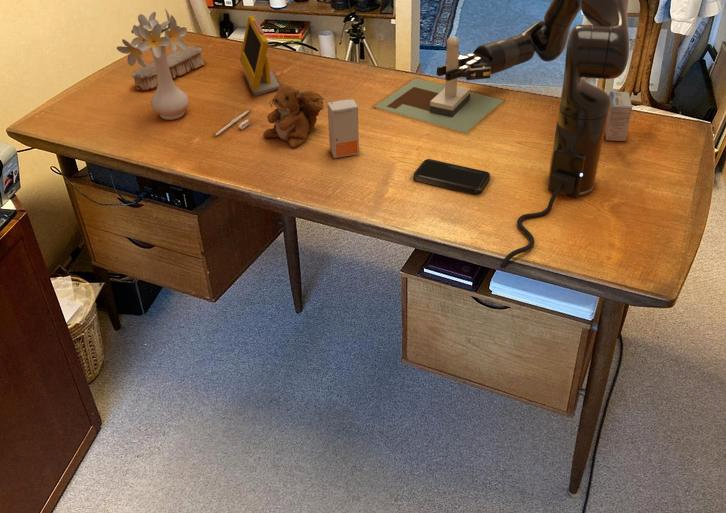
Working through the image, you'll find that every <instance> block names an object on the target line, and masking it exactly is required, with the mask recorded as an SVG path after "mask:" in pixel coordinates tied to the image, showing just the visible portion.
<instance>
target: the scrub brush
mask: <svg viewBox="0 0 726 513" xmlns="http://www.w3.org/2000/svg"><path fill="white" fill-rule="evenodd" d="M459 50H460V39H459V38H458V36H455V35H452V36H449V37H448V38H447V39H446V58H445V64H446V72H447V71H450V70H453V69H456V68H458V53H459V52H460V51H459ZM444 85H445V88H444V89H443V90H442V91H441V92H440V93H439V94H438V95H437V96H436V97H434V98H433V99H432V100H431V101H430V113H435V114H439V115H444V116H448V117H453V116H454V115H455V114H456V113H457V112H458V111H459V110H460V109H461V108H462V107H463V106H464V105H465V104H466V103H467V102H468V101H469V100H470V93H471V92H472V91H471V88H470V87H466V86H461V85H458V78H456V79H453V80H450V81H447V80H445V83H444Z"/></svg>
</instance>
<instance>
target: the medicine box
mask: <svg viewBox="0 0 726 513" xmlns="http://www.w3.org/2000/svg"><path fill="white" fill-rule="evenodd" d="M608 95H609V97H610V107H609V112H608V117H607V122H606V127H605V132H604V136H605V140H606V141H610V142H626V140H627V137H628V130H629V126H630V121H631V116H632V112H633V105H632V100H631V94H630V92H628V91H609V93H608Z"/></svg>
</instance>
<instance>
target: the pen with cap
mask: <svg viewBox="0 0 726 513" xmlns="http://www.w3.org/2000/svg"><path fill="white" fill-rule="evenodd" d="M249 112H250V110H248V109H247V110H245V111H244V112H243V113H241V114H240V115H238V116H237V115H236V116H234V117H232V118H231V120H230V121H229V123H228V124H227V125H225V126H224V127H222V128H221V129H219V130H218V131H216V133H215V135H214V136H215V137H217V136H219V135H221V134H222V133H223V132H224V131H226V130H227V129H229V128H230V127H232V126H233V125H234V124H236V123H237V122H239V124H238V129H239V130H244V129H245V128H246V127H247V126H249V125H250V124H251V120H250V119H247V118H245V120H244V121H243V120H242V118H243V117H245V116H246V115H248V114H249Z"/></svg>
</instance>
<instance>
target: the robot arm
mask: <svg viewBox="0 0 726 513" xmlns="http://www.w3.org/2000/svg"><path fill="white" fill-rule="evenodd" d="M628 8H629V0H551V2H550V3H549V6H548V8H547V9H546V11H545V13H544V15H543V20H537V21H536V22H534V23H533V24H532V25H530V26H529V27H528V28H527V29H525V30H523V31H522V32H521V33H519V34H517V35H514V36H510V37H507V38H500V39H497V40H494V41H490V42H488V43H484V44H481V45H479V46H477V47H476V48H475V49H474V51H473V52H472V53H466V54H464V55H461V54H460V51H459V53H458V68H456V69H453V70H450V71H447V72H446V63H445V64H442V65H439V66H437V67H436V76H438V77H442V76H445V77H444V79H445V80H444V81H446V80H447V81H450V80H453V79H456V78H457V79H464V78H465V80H466V81H476V80H486V79H490V78H491V76H492V75H494V74H496V73H501V72H504V71H506V70H509V69H511V68H513V67H515V66H518V65H521V64H524V63H526V62H529V61H530V60H532V59H533V57H534V56H535V54H536V55H537V57H538V58H540V60H541V61H543V62H547V63H548V62H550V63H551V62H553V61H555V60H557V59H558V58H559V57H560V56H561V55H562V54H563V52H564V50H565V48H566V52H565V62H564V71H563V72H564V73H563V82H562V89H561V94H560V101H559V107H558V112H557V113H558V114H557V120H556V127H555V132H554V139H553V146H552V151H551V159H550V165H549V172H548V176H547V186H548V188H547V190H548V191H549V192H552V194H551V197H550V198H549V200H548V204H547V207H546V208H545V209H543V210H542V211H539V212H532V213H525V214H522V215H520V216H519V217H518V218H517V220H516V225H517V228H518V229H519V230H520V231H521V232H522V233H523V234H524V236H526V237H527V239H528V244H526V245H525V246H522V247H519V248H516V249H514V250H512V251H511V252H509V253H508V254H507V255H506V256H505V257H504V258H503V260H502V261H501V264H500V265H499V268H501V269H504V268H506V266H507V265H508V263H509V262H510V260H511V259H512V258H513V257H515V256H517V255H520V254H523V253H525V252H528V251H530V250H531V249H532V248H533V247H534V245H535V237H534V235H533V234H532V233H531V232H530V231H529V230H528V229H527V228H526V227H525V226H524V224H523V221H524V220H527V219H536V218H542V217H544V216H546V215H548V214H549V213H550V212H551V211H552V209H553V206H554V202H555V200H556V198H557V197H558V195H562V196H566V197H569V198H573V199H578V198H579V197H582V196H586V195H588V194H591V193H592V192H593V191H594V189H595V185H596V176H597V172H598V170H597V169H598V166H599V161H600V156H601V151H602V146H603V141H604V137H605V127H606V122H607V117H608V112H609V107H610V97H609V93H607V92H606V91H605V90H603V89H601V88H600V87H597V86H595V85H593V84H591V83H589V82H588V81H586V80H585V79H586V78H587V79H602V80H611V79H612V80H613V79H618V78H619V77H621V76H622V74H624V72H625V70H626V68H627V65H628V62H629V59H630V58H629V57H630V33H629V32H630V31H629V25H628V24H629V23H628V10H629V9H628ZM580 11H581V13H582V14H583V16H584V18H585V19H586V20H587V21H588V22H589V23H590V24H577V25H575V26H574V27H573V28H572V29H571V26H572V24H573V23H574V21H575V19H576V17H577V16H578V14H579V13H580Z"/></svg>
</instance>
